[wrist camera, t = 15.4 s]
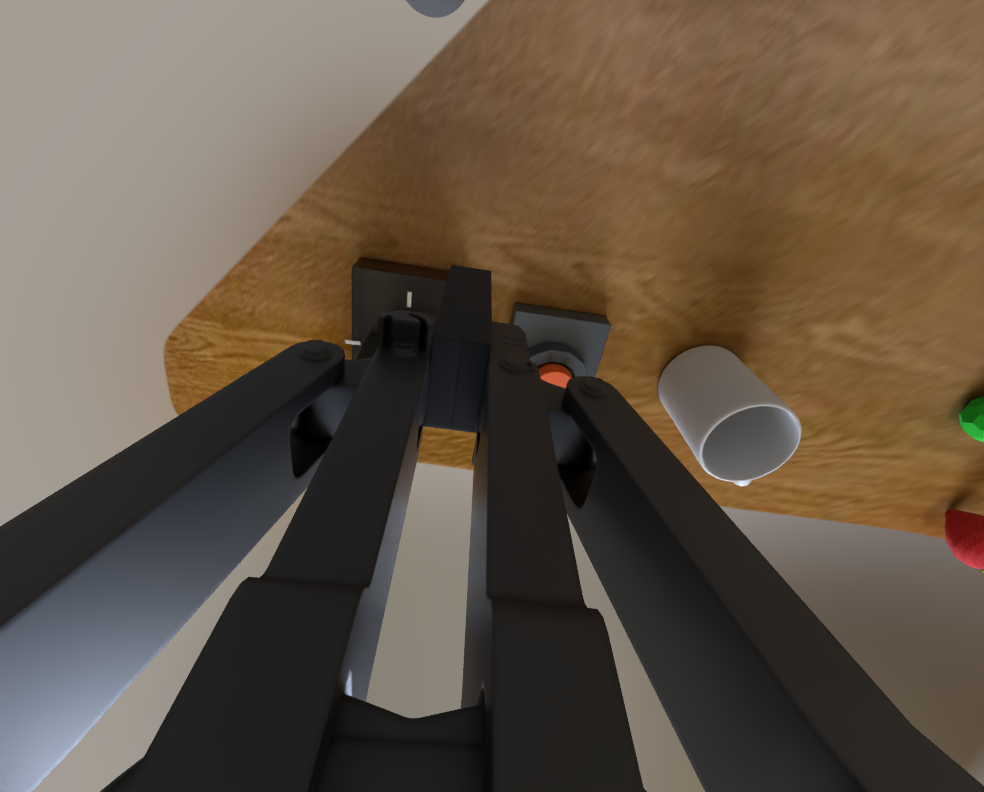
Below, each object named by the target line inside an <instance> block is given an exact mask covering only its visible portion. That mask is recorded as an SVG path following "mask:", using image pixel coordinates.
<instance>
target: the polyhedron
mask: <svg viewBox="0 0 984 792" xmlns="http://www.w3.org/2000/svg"><path fill="white" fill-rule="evenodd" d="M959 421H960V426H961V427H962V429H963V430H964V431H965V432H966V433H968V434H969V435H970V436H971V437H973V438H975V439H976V440H978V441H983V442H984V397H980V398H977V399H974V400H971V401H970V402H969V404H968V405H967V406H966V407H965V408H964V410H963V411H962V412H961V413H960V415H959Z"/></svg>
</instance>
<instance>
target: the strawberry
mask: <svg viewBox="0 0 984 792" xmlns="http://www.w3.org/2000/svg"><path fill="white" fill-rule="evenodd" d="M945 536H946V542H947V544H948V546H949V547H950V549H951V551H952V552H953V554H954V555H955V556H956V558H958V559H959V560H961V561H962V562H964V563H965V564H967V565H968V566H971V567H974V568H978V569H983V570H982V571H980V572H984V516H982V515H979V514H974V513H969V512H964V511H960V510H955V509H952V510H948V511H947V512H946V513H945Z"/></svg>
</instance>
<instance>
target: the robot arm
mask: <svg viewBox="0 0 984 792" xmlns="http://www.w3.org/2000/svg"><path fill="white" fill-rule="evenodd" d="M423 421H424V423H423ZM423 426H426V427H434V428H442V429H450V430H458V431H466V432H474V433H477V435H476V441H475V447H474V453H473V459H472V465H474V476H473V494H472V495H473V496H472V515H471V533H470V552H469V571H468V590H467V611H466V630H465V648H464V668H463V686H462V700H461V709H458V710H453V711H449V712H444V713H440V714H435V715H431V716H426V717H422V718H413V719H412V718H406V717H403V716H401V715H398V714H396V713H393V712H391V711H388V710H385V709H383V708H380V707H378V706H375V705H372V704H370V703H367V702H366V698H367V692H368V687H369V681H370V677H371V672H372V668H373V663H374V658H375V654H376V649H377V644H378V640H379V635H380V631H381V626H382V621H383V617H384V612H385V607H386V602H387V598H388V593H389V588H390V584H391V579H392V574H393V569H394V565H395V560H396V556H397V551H398V546H399V542H400V537H401V532H402V528H403V523H404V518H405V514H406V509H407V504H408V500H409V495H410V490H411V485H412V481H413V476H414V472H415V466H416V462H417V458H418V453H419V448H420V444H421V439H422V431H423ZM477 428H478V429H477ZM307 487H308V488H307ZM306 488H307V490H306V492H305V494H304V496H303V498H302V500H301V502H300V504H299V506H298V508H297V510H296V512H295V514H294V516H293V518H292V520H291V522H290V524H289V526H288V528H287V530H286V532H285V534H284V536H283V538H282V540H281V542H280V544H279V546H278V548H277V550H276V552H275V554H274V556H273V558H272V560H271V562H270V564H269V566H268V568H267V569H266V571H265V573H264V574H263V575H262V576H261V577H260V578H255V577H248V578H247V579H245V580H244V581H243V582H242V583H241V584H240V585H239V586H238V588H237V589H236V591H235V592H234V594H233V595H232V597H231V598H230V600H229V602H228V604H227V605H226V607H225V609H224V611H223V613H222V615H221V616H220V618H219V620H218V622H217V624H216V626H215V627H214V629H213V631H212V633H211V635H210V637H209V639H208V640H207V642H206V644H205V646H204V648H203V649H202V651H201V653H200V655H199V657H198V659H197V661H196V662H195V664H194V666H193V668H192V670H191V672H190V673H189V675H188V677H187V679H186V681H185V683H184V684H183V686H182V688H181V690H180V692H179V694H178V695H177V697H176V699H175V701H174V703H173V705H172V706H171V708H170V710H169V712H168V714H167V716H166V718H165V719H164V721H163V723H162V725H161V727H160V728H159V730H158V732H157V734H156V736H155V738H154V740H153V741H152V743H151V745H150V747H149V749H148V750H147V752H146V754H145V756H144V757H143V758H142V759H140V760H139V761H138V762H136V763H135V764H134V765H133V766H131V767H130V768H129V769H127V770H126V771H125V772H123V773H122V774H121V775H120V776H118V777H117V778H116V779H115V780H114V781H112V782H111V783H110V784H109V785H107V786H106V787H105V788H104V789H103V790H101V791H100V792H647V791H646V790H645V789H644V788H643V784H642V780H641V775H640V771H639V767H638V762H637V757H636V753H635V749H634V745H633V740H632V736H631V731H630V727H629V722H628V718H627V714H626V709H625V705H624V701H623V696H622V692H621V688H620V683H619V679H618V674H617V670H616V666H615V661H614V657H613V653H612V648H611V644H610V639H609V635H608V631H607V628H606V625H605V622H604V619H603V616H602V615H601V614H600V612H599V611H598V610H597V609H591V608H587V606H586V605H585V603H584V599H583V595H582V590H581V585H580V580H579V575H578V569H577V564H576V559H575V554H574V549H573V544H572V539H571V534H570V528H569V523H568V518H567V514H568V516H569V518H570V520H571V522H572V524H573V526H574V528H575V530H576V532H577V534H578V536H579V538H580V540H581V542H582V545H583V547H584V549H585V551H586V552H587V555H588V556H589V559H590V561H591V563H592V565H593V567H594V569H595V571H596V572H597V575H598V577H599V579H600V581H601V583H602V585H603V587H604V589H605V591H606V593H607V595H608V597H609V599H610V601H611V603H612V605H613V607H614V609H615V610H616V613H617V615H618V617H619V619H620V621H621V623H622V625H623V627H624V629H625V631H626V633H627V635H628V637H629V639H630V641H631V643H632V645H633V647H634V649H635V651H636V653H637V655H638V657H639V659H640V661H641V663H642V665H643V667H644V669H645V671H646V673H647V675H648V677H649V679H650V682H651V683H652V686H653V687H654V690H655V691H656V693H657V696H658V698H659V700H660V701H661V704H662V706H663V708H664V710H665V712H666V714H667V716H668V718H669V720H670V722H671V724H672V726H673V728H674V730H675V732H676V734H677V736H678V738H679V740H680V742H681V744H682V746H683V748H684V750H685V752H686V754H687V756H688V758H689V760H690V762H691V764H692V766H693V768H694V770H695V772H696V774H697V776H698V778H699V780H700V782H701V784H702V786H703V788H704V789H705V791H706V792H984V786H983V785H982V784H981V783H980V782H978V781H977V780H976V779H975V778H974V777H972V776H971V775H970V774H969V773H968V772H967V771H965V770H964V769H963V768H962V767H961V766H960V765H958V764H957V763H956V762H955V761H953V760H952V759H951V758H950V757H949V756H948V755H946V754H945V753H944V752H943V751H942V750H940V749H939V748H938V747H937V746H936V745H935V744H934V743H932V742H931V741H930V740H929V739H928V738H926V737H925V736H924V735H923V734H922V733H920V732H919V731H918V730H917V729H916V728H915V727H913V726H912V725H911V723H910V722H909V721H908V720H907V719H906V718H905V717H904V715H903V714H902V713H901V712H900V711H899V710H898V709H897V708H896V706H895V705H894V704H893V703H892V702H891V701H890V700H889V698H888V697H887V696H886V695H885V694H884V693H883V692H882V690H881V689H880V688H879V687H878V686H877V685H876V684H875V683H874V682H873V680H872V679H871V678H870V677H869V676H868V675H867V673H866V672H865V671H864V670H863V669H862V668H861V667H860V666H859V664H858V663H857V662H856V661H855V660H854V659H853V658H852V656H851V655H850V654H849V653H848V652H847V651H846V650H845V648H844V647H843V646H842V645H841V644H840V643H839V642H838V641H837V639H836V638H835V637H834V636H833V635H832V634H831V633H830V631H829V630H828V629H827V628H826V627H825V626H824V625H823V623H822V622H821V621H820V620H819V619H818V618H817V617H816V616H815V614H814V613H813V612H812V611H811V610H810V609H809V608H808V606H806V604H805V603H804V602H803V601H802V600H801V598H800V597H799V596H798V595H797V594H796V593H795V592H794V591H793V589H792V588H791V587H790V586H789V585H788V584H787V583H786V582H785V580H784V579H783V578H782V577H781V576H780V575H779V574H778V572H777V571H776V570H775V569H774V568H773V567H772V566H771V564H770V563H769V562H768V561H767V560H766V559H765V558H764V557H763V555H761V553H760V552H759V551H758V550H757V549H756V547H755V546H754V545H753V544H752V543H751V542H750V541H749V539H748V538H747V537H746V536H745V535H744V534H743V533H742V532H741V530H740V529H739V528H738V527H737V526H736V525H735V524H734V522H733V521H732V520H731V519H730V518H729V517H728V516H727V514H726V513H725V512H724V511H723V510H722V509H721V508H720V507H719V505H718V504H717V503H716V502H715V501H714V500H713V499H712V497H711V496H710V495H709V494H708V493H707V492H706V491H705V489H704V488H703V487H702V486H701V485H700V484H699V483H698V482H697V480H696V479H695V478H694V477H693V476H692V475H691V474H690V472H689V471H688V470H687V469H686V468H685V467H684V466H683V464H682V463H681V462H680V461H679V460H678V459H677V458H676V457H675V455H674V454H673V453H672V452H671V451H670V450H669V449H668V447H667V446H666V445H665V444H664V443H663V442H662V441H661V440H660V438H659V437H658V436H657V435H656V434H655V433H654V432H653V430H652V429H651V428H650V427H649V426H648V425H647V424H646V422H645V421H644V420H643V419H642V418H641V417H640V416H639V415H638V413H637V412H636V411H635V410H634V409H633V408H632V407H631V405H630V404H629V403H628V402H627V401H626V400H625V399H624V397H623V396H622V395H621V394H620V393H619V392H618V391H617V390H616V389H615V388H614V387H613V386H612V385H610V384H609V383H607V382H605V381H603V380H602V379H599V378H596V377H592V376H589V377H587V376H577V377H573V378H571V379H569V380H568V383H567V385H566V388H563V387H560V386H557V385H554V384H551V383H548V382H546V381H544V380H542V379H541V377H540V372H539V368H538V367H537V365H536V364H535V363H534V362H532V361H531V360H530V356H529V350H528V344H527V338H526V333H525V332H524V331H523V330H522V329H521V328H520V327H519V326H518V325H512V324H505V323H498V322H492V317H491V271H488V270H481V269H475V268H469V267H462V266H456V265H451V268H450V272H449V275H448V279H447V283H446V286H445V290H444V293H443V297H442V301H441V304H440V308H439V311H438V315H435V314H428V313H421V312H415V311H401V310H398V311H389V312H386V313H383V314H381V315H380V316H379V317H378V348H377V350H376V352H375V354H374V356H373V357H372V358H367V359H357V360H345V354H344V350H343V349H342V348H341V347H339V346H338V345H335V344H332V343H329V342H323V341H320V340H316V341H315V340H310V341H307V342H302V343H298V344H295V345H293V346H290V347H289V348H287V349H286V350H284V351H282V352H281V353H279V354H278V355H276V356H274V357H273V358H271V359H269V360H268V361H266V362H265V363H263V364H261V365H260V366H258V367H257V368H255V369H253V370H252V371H250V372H249V373H247V374H245V375H244V376H242V377H240V378H239V379H237V380H236V381H234V382H232V383H231V384H229V385H228V386H226V387H224V388H223V389H221V390H219V391H218V392H216V393H215V394H213V395H211V396H210V397H208V398H207V399H205V400H203V401H202V402H200V403H199V404H197V405H195V406H194V407H192V408H190V409H189V410H187V411H186V412H184V413H182V414H181V415H179V416H178V417H176V418H174V419H173V420H171V421H170V422H168V423H166V424H165V425H163V426H161V427H160V428H159V429H157V430H155V431H153V432H152V433H150V434H149V435H147V436H145V437H144V438H142V439H141V440H139V441H138V442H136V443H134V444H132V445H131V446H129V447H128V448H126V449H124V450H123V451H121V452H120V453H118V454H116V455H115V456H113V457H112V458H110V459H108V460H107V461H105V462H104V463H102V464H100V465H99V466H97V467H95V468H94V469H93V470H91V471H89V472H87V473H86V474H84V475H83V476H81V477H79V478H78V479H76V480H74V481H73V482H71V483H70V484H68V485H66V486H65V487H63V488H62V489H60V490H59V491H57V492H55V493H54V494H52V495H50V496H49V497H47V498H45V499H44V500H42V501H41V502H39V503H37V504H36V505H34V506H33V507H31V508H29V509H28V510H26V511H25V512H23V513H21V514H20V515H18V516H16V517H15V518H13V519H12V520H10V521H8V522H7V523H5V524H4V525H2V526H0V792H32V791H33V790H34V789H35V788H36V787H37V786H38V785H39V784H40V783H41V782H42V781H43V780H44V779H45V777H47V775H48V774H49V773H50V772H51V771H52V770H53V769H54V768H55V767H56V766H57V765H58V764H59V763H60V762H61V761H62V760H63V759H64V758H65V757H66V756H67V755H68V753H69V752H70V751H71V750H72V749H73V748H74V747H75V746H76V745H77V744H78V743H79V742H80V740H81V739H82V738H83V737H84V736H85V735H86V734H87V733H88V732H89V730H90V729H91V728H92V727H93V726H94V725H95V724H96V723H97V722H98V720H99V719H100V718H101V717H102V716H103V715H104V714H105V713H106V711H107V710H108V709H109V708H110V707H111V706H112V705H113V704H114V703H115V701H116V700H117V699H118V698H119V697H120V696H121V695H122V694H123V692H124V691H125V690H126V689H127V688H128V687H129V686H130V685H131V684H132V682H133V681H134V680H135V679H136V678H137V677H138V676H139V675H140V673H141V672H142V671H143V670H144V669H145V668H146V667H147V665H148V664H149V663H150V662H151V661H152V660H153V659H154V658H155V656H157V654H158V653H159V652H160V651H161V650H162V649H163V648H164V647H165V646H166V644H167V643H168V642H169V641H170V640H171V639H172V638H173V637H174V636H175V634H176V633H177V632H178V631H179V630H180V629H181V628H182V627H183V625H184V624H185V623H186V622H187V621H188V620H189V619H190V618H191V617H192V615H193V614H194V613H195V612H196V611H197V610H198V609H199V608H200V607H201V605H202V604H203V603H204V602H205V601H206V600H207V599H208V598H209V597H210V595H211V594H212V593H213V592H214V591H215V590H216V588H218V586H219V585H220V584H221V583H222V582H223V581H224V580H225V579H226V578H227V576H228V575H229V574H230V573H231V572H232V571H233V570H234V568H235V567H236V566H237V565H238V564H239V563H240V562H241V561H242V560H243V558H244V557H245V556H246V555H247V554H248V553H249V552H250V551H251V550H252V548H253V547H254V546H255V545H256V544H257V543H258V542H259V541H260V540H261V538H262V537H263V536H264V535H265V534H266V533H267V532H268V531H269V529H270V528H271V527H272V526H273V525H274V524H275V523H276V522H277V521H278V519H279V518H280V517H281V516H282V515H283V514H284V513H285V512H286V511H287V509H288V508H289V507H290V506H291V505H292V504H293V503H294V501H296V499H297V498H298V497H299V496H300V495H301V494H302V492H303V491H304V490H305V489H306Z"/></svg>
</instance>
